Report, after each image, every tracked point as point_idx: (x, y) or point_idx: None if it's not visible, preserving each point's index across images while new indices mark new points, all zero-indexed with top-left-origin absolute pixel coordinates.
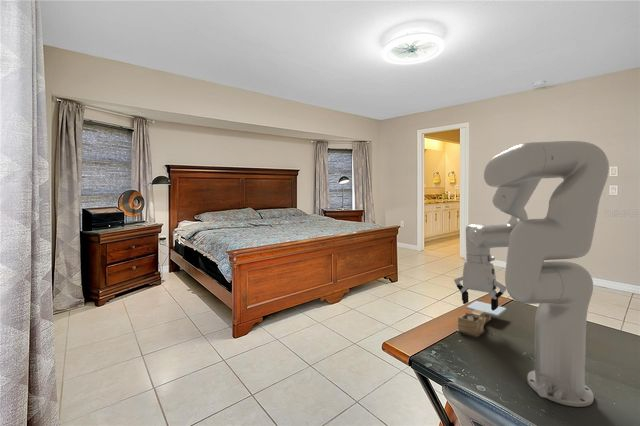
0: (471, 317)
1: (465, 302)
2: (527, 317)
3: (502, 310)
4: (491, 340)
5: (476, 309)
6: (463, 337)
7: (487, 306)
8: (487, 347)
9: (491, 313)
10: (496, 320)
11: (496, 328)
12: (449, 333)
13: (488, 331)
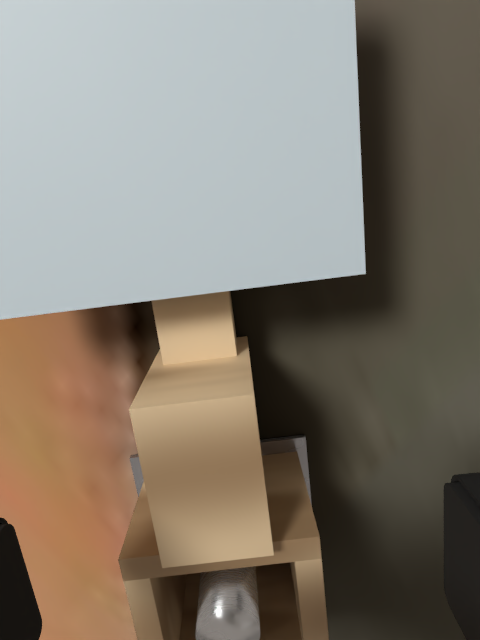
0: (242, 636)
1: (29, 634)
2: None
3: (346, 30)
4: (405, 534)
5: (147, 418)
6: None
7: (112, 48)
8: (424, 627)
9: (289, 281)
10: None
11: (348, 316)
12: None
13: (326, 423)
